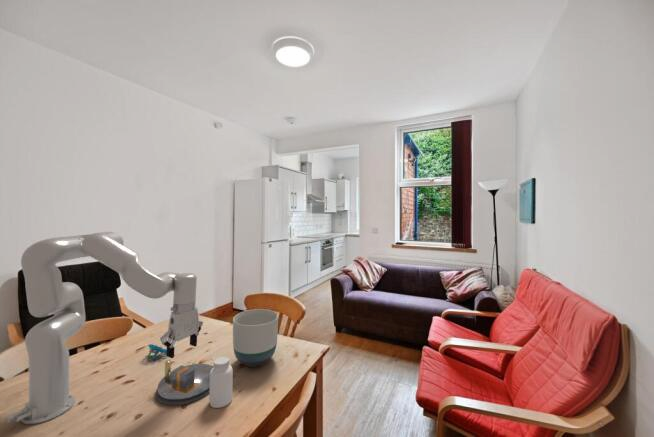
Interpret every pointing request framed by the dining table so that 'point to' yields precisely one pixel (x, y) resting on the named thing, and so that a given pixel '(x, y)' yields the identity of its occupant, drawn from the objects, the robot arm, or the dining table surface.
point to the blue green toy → (155, 350)
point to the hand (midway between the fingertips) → (182, 351)
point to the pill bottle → (221, 383)
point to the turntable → (200, 387)
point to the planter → (255, 336)
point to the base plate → (178, 403)
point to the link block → (183, 378)
